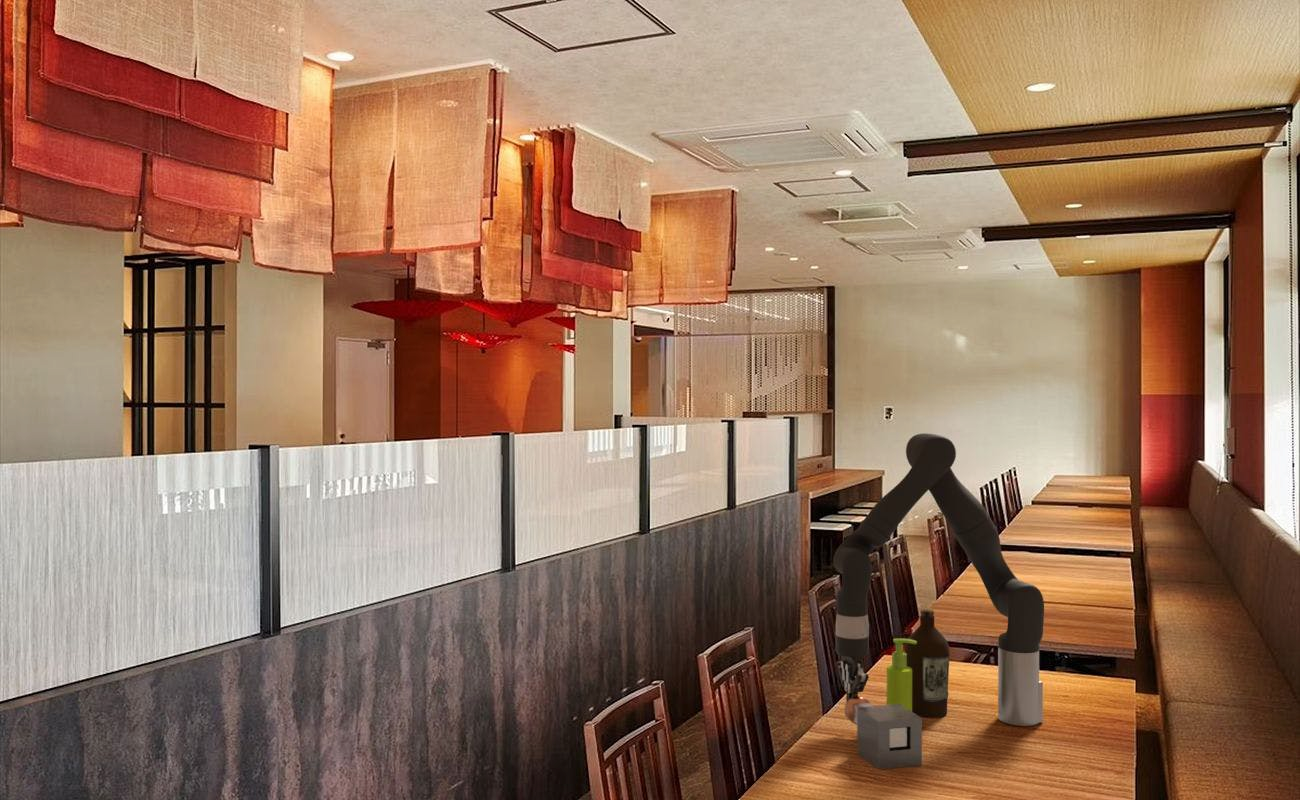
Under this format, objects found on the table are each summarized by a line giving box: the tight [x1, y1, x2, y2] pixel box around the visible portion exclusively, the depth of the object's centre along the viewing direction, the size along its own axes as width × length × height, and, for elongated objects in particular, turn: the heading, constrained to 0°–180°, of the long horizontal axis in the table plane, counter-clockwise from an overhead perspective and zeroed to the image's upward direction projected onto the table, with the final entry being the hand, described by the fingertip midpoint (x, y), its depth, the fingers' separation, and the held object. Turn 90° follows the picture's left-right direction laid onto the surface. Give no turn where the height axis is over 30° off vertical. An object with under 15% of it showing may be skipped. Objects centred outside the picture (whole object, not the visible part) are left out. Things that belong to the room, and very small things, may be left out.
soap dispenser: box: [886, 637, 917, 712], centre depth 246 cm, size 6×7×20 cm
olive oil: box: [904, 609, 951, 719], centre depth 255 cm, size 11×11×25 cm
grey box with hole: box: [856, 704, 923, 771], centre depth 222 cm, size 10×10×10 cm
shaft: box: [844, 695, 907, 748], centre depth 228 cm, size 6×20×6 cm, turn 14°
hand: (852, 707), depth 240 cm, fingers closed
